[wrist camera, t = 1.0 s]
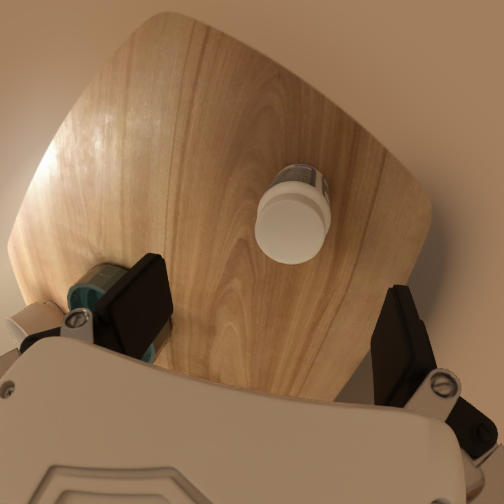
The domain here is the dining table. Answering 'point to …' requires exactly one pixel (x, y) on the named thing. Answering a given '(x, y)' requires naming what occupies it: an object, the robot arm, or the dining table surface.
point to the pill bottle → (294, 215)
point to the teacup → (34, 320)
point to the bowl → (96, 287)
